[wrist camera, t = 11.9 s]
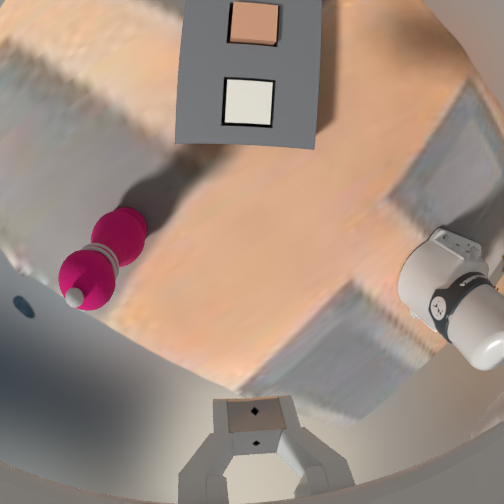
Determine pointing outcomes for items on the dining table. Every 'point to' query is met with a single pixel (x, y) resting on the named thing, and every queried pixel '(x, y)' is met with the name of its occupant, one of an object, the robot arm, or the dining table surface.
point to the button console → (249, 75)
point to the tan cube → (253, 24)
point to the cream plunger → (248, 102)
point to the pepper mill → (102, 259)
